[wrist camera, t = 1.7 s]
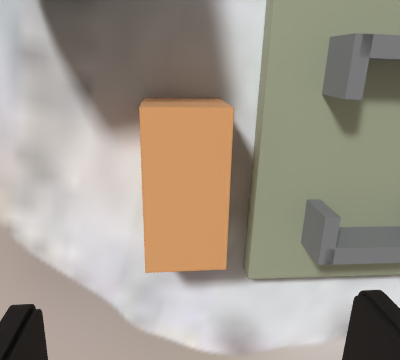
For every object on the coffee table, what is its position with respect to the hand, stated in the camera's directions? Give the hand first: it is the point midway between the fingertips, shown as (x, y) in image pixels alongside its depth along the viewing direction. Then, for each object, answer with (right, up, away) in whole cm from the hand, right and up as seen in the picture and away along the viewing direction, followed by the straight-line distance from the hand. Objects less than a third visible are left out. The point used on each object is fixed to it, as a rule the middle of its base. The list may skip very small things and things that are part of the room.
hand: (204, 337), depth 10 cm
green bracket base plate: (+12, +7, +15) cm, 20 cm away
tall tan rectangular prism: (-1, +5, +14) cm, 15 cm away
